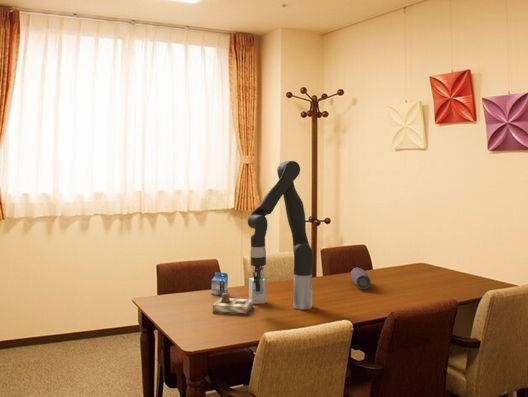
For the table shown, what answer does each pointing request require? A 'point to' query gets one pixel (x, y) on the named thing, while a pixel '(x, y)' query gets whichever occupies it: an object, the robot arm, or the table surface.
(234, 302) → the peg board
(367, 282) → the bluetooth speaker
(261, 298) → the supplement box
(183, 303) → the table surface
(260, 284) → the teal pin
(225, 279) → the label tape box
